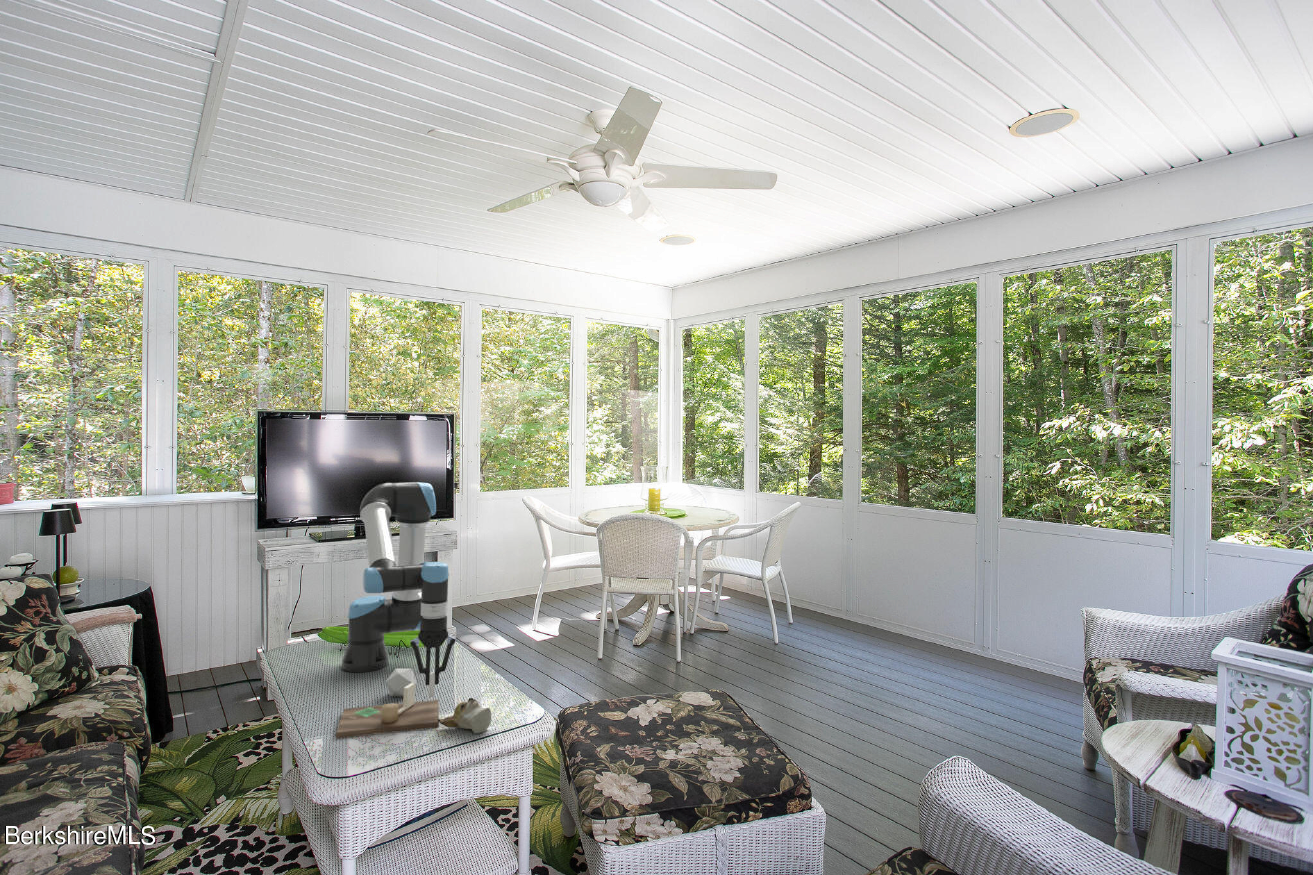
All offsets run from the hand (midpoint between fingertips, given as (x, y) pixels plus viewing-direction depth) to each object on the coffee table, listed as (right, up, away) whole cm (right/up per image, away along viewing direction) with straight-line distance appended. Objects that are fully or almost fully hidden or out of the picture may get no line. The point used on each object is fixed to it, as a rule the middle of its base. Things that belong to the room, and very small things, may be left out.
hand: (431, 695), depth 195 cm
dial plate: (-9, -4, -7) cm, 13 cm away
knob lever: (-7, -2, -7) cm, 10 cm away
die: (-13, -4, +11) cm, 18 cm away
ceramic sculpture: (+14, -5, -11) cm, 18 cm away
